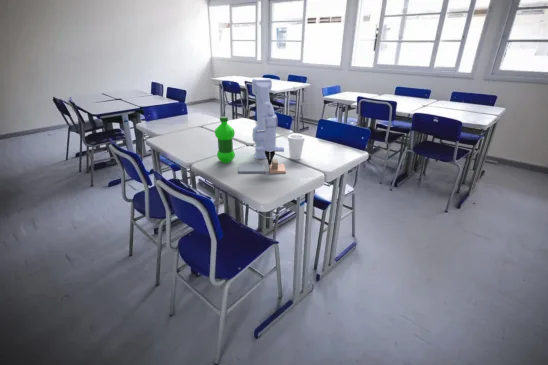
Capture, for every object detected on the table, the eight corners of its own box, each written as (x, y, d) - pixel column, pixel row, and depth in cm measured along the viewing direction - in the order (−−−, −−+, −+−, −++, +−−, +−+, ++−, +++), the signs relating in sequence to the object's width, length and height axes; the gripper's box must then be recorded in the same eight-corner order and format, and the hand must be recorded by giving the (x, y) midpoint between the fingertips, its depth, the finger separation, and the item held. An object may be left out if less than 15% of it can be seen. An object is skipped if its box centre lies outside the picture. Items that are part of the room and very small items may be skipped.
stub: (269, 165, 155) (269, 157, 153) (284, 165, 155) (284, 157, 153) (270, 173, 146) (270, 164, 144) (285, 173, 146) (285, 164, 144)
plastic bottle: (224, 156, 166) (222, 114, 155) (239, 160, 162) (237, 117, 151) (213, 162, 159) (209, 117, 148) (227, 166, 154) (225, 120, 143)
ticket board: (239, 166, 154) (239, 163, 154) (265, 166, 155) (265, 163, 154) (238, 173, 145) (238, 171, 145) (265, 173, 146) (265, 171, 145)
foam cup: (293, 161, 161) (295, 140, 156) (284, 157, 168) (284, 136, 162) (306, 158, 166) (307, 137, 161) (296, 154, 173) (297, 133, 168)
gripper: (255, 141, 139) (255, 167, 145) (284, 142, 140) (283, 167, 146) (255, 137, 146) (256, 162, 151) (283, 138, 146) (282, 162, 152)
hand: (269, 164), depth 149 cm, fingers closed
